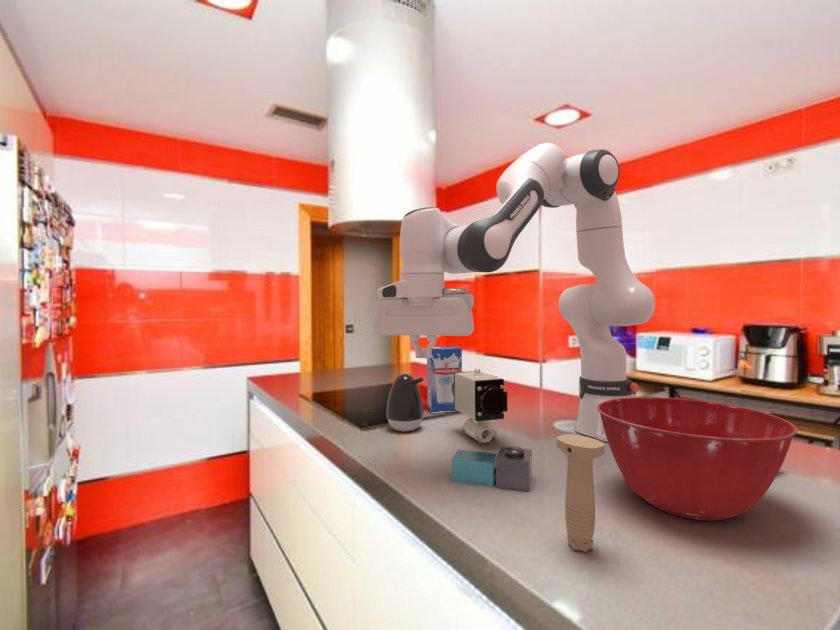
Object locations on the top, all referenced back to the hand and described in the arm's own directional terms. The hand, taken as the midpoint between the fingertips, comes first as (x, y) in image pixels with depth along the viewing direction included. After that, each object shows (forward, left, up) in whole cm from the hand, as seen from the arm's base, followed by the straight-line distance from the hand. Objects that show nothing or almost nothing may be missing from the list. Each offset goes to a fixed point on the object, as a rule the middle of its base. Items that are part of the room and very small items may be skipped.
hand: (423, 357), depth 90 cm
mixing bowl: (-47, 0, -24) cm, 53 cm away
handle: (-29, +20, -24) cm, 42 cm away
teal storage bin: (-10, 0, -23) cm, 26 cm away
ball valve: (-7, -25, -24) cm, 35 cm away
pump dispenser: (+14, -28, -24) cm, 39 cm away
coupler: (-13, 0, -23) cm, 27 cm away
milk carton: (+9, -51, -24) cm, 57 cm away
